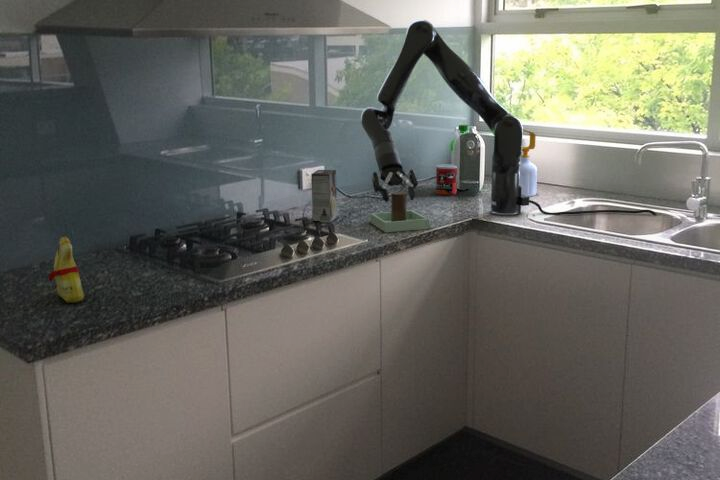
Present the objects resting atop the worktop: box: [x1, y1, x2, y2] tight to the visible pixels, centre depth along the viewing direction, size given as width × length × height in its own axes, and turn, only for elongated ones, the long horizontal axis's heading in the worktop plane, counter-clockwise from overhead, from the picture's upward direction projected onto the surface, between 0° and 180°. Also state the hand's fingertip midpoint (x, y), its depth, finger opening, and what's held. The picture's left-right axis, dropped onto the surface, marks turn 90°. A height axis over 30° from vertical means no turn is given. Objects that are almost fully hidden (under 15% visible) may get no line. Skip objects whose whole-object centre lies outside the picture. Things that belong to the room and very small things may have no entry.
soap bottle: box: [519, 129, 538, 197], centre depth 310 cm, size 9×9×25 cm
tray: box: [369, 209, 430, 233], centre depth 265 cm, size 15×15×3 cm
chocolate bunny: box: [48, 236, 85, 304], centre depth 194 cm, size 7×11×15 cm, turn 36°
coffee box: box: [310, 169, 338, 223], centre depth 274 cm, size 9×6×16 cm
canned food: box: [435, 163, 458, 197], centre depth 314 cm, size 8×8×11 cm
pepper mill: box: [390, 191, 407, 222], centre depth 265 cm, size 5×5×10 cm
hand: (400, 199), depth 263 cm, fingers open, 8 cm apart
